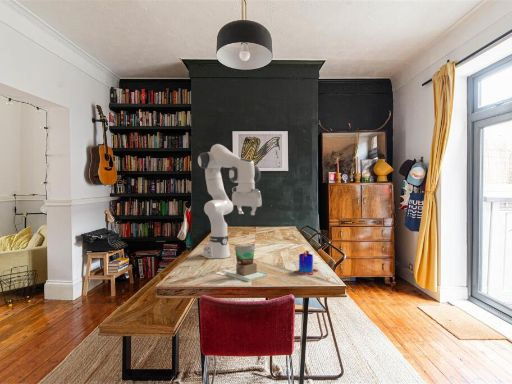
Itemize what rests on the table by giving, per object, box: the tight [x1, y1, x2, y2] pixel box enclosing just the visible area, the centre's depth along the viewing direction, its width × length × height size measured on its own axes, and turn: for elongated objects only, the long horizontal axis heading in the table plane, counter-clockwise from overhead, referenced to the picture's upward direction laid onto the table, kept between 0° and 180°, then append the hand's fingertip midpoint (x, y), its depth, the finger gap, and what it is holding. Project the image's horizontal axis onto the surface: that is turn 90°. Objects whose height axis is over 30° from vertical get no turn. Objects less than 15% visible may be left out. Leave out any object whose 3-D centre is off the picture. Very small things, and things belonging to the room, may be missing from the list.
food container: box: [234, 243, 256, 265], centre depth 168 cm, size 12×6×10 cm, turn 122°
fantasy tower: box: [293, 250, 319, 276], centre depth 175 cm, size 12×12×12 cm
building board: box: [225, 269, 269, 283], centre depth 168 cm, size 18×14×2 cm
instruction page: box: [214, 269, 232, 276], centre depth 174 cm, size 6×9×1 cm, turn 144°
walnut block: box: [235, 262, 258, 276], centre depth 168 cm, size 6×9×5 cm
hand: (246, 214), depth 167 cm, fingers open, 8 cm apart
